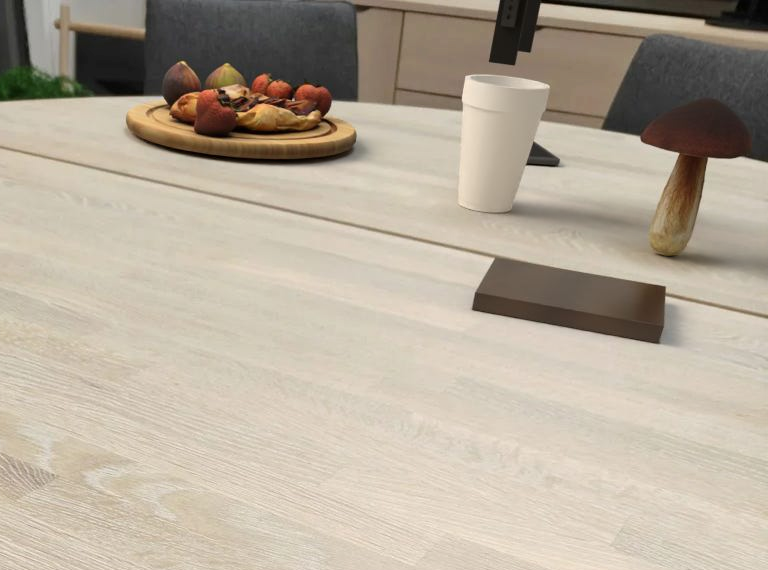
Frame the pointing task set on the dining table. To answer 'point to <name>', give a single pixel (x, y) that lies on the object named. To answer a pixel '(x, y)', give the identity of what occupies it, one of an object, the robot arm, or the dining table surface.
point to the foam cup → (497, 138)
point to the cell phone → (541, 156)
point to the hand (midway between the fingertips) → (510, 57)
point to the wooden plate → (241, 117)
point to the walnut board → (573, 299)
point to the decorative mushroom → (691, 163)
